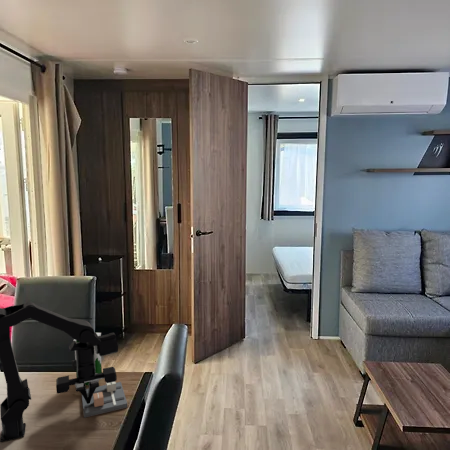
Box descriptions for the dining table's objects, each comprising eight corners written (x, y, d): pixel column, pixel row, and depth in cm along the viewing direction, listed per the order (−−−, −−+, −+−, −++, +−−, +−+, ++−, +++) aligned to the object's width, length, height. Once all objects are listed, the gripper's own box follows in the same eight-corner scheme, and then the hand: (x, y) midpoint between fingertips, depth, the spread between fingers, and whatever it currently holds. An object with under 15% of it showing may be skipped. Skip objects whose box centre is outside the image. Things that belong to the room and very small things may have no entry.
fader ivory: (116, 390, 140) (115, 383, 139) (107, 392, 138) (107, 385, 138) (114, 384, 143) (114, 377, 143) (106, 386, 142) (105, 379, 142)
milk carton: (73, 386, 146) (70, 335, 143) (84, 373, 155) (81, 326, 152) (95, 387, 145) (93, 336, 142) (105, 374, 154) (103, 326, 151)
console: (127, 407, 133) (127, 402, 132) (84, 417, 127) (83, 412, 127) (121, 385, 146) (120, 381, 146) (81, 393, 141) (81, 389, 141)
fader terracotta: (103, 405, 131) (103, 397, 130) (94, 407, 130) (94, 399, 129) (102, 398, 134) (102, 391, 134) (93, 400, 133) (93, 393, 133)
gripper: (111, 344, 139) (113, 384, 142) (55, 354, 132) (58, 396, 134) (115, 357, 129) (118, 401, 132) (54, 369, 122) (58, 415, 124)
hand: (88, 403), depth 131 cm, fingers closed
